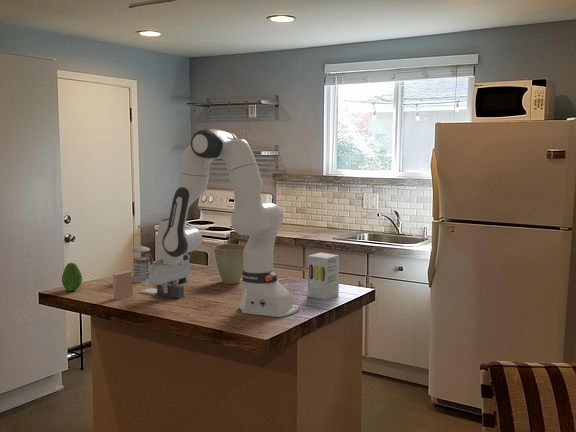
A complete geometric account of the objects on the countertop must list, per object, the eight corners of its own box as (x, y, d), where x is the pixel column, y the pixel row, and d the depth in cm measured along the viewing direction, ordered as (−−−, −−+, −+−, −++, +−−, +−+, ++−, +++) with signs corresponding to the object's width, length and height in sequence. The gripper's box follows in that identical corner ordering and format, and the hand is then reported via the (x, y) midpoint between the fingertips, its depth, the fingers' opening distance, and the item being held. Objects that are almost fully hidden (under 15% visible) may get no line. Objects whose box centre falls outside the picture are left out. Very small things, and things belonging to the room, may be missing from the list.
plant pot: (208, 284, 258) (208, 248, 256) (222, 277, 272) (222, 243, 270) (240, 287, 253) (239, 250, 251) (253, 279, 267) (252, 245, 265)
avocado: (66, 294, 241) (65, 265, 240) (59, 290, 247) (58, 262, 246) (85, 290, 247) (84, 262, 245) (78, 287, 253) (77, 259, 251)
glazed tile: (132, 295, 239) (131, 271, 238) (117, 299, 233) (116, 274, 231) (128, 294, 240) (127, 270, 239) (113, 299, 234) (112, 274, 233)
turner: (186, 296, 238) (186, 285, 238) (176, 299, 233) (176, 288, 233) (150, 289, 249) (150, 279, 248) (140, 292, 244) (139, 282, 243)
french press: (143, 276, 274) (141, 222, 271) (160, 279, 267) (159, 224, 264) (126, 280, 266) (124, 225, 263) (143, 283, 259) (141, 227, 256)
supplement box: (306, 296, 238) (307, 255, 236) (319, 292, 245) (320, 252, 243) (326, 300, 232) (327, 258, 230) (339, 295, 239) (339, 254, 237)
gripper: (156, 263, 227) (157, 298, 228) (192, 254, 244) (193, 287, 245) (144, 261, 230) (145, 296, 232) (180, 253, 247) (181, 285, 249)
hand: (170, 291), depth 239 cm, fingers closed on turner, 3 cm apart
